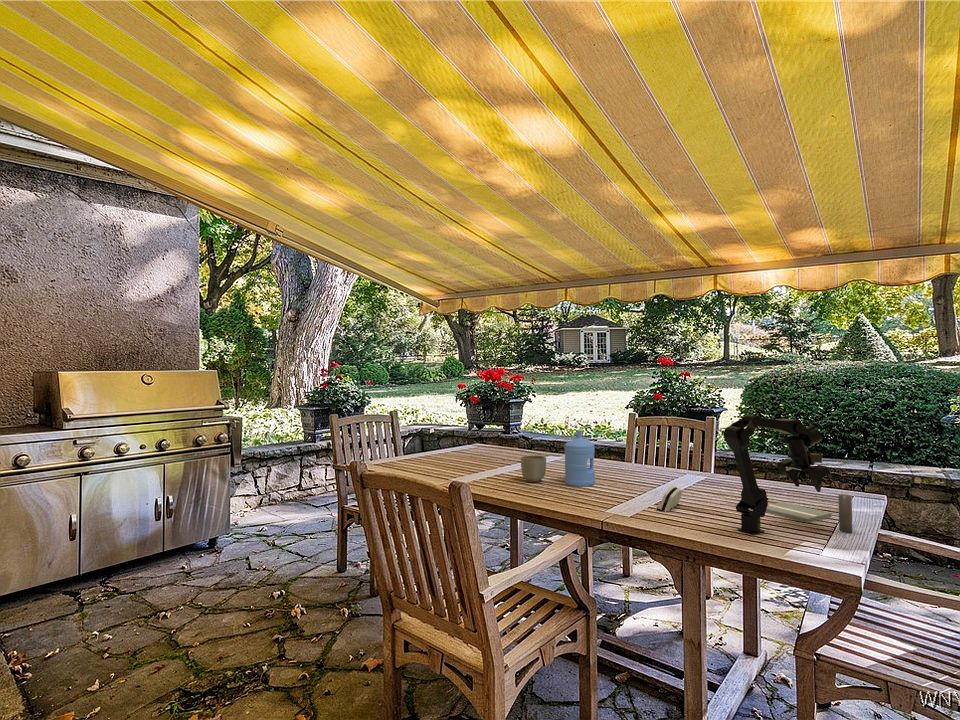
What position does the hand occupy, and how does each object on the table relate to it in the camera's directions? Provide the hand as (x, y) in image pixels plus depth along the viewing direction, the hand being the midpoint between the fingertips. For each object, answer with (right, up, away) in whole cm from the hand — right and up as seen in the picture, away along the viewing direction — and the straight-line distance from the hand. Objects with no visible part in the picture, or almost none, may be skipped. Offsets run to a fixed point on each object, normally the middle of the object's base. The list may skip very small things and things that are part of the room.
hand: (808, 489), depth 198 cm
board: (+3, -14, +14) cm, 20 cm away
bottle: (+8, -13, -9) cm, 18 cm away
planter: (-97, -17, +82) cm, 128 cm away
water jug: (-73, -16, +75) cm, 106 cm away
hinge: (-43, -15, +26) cm, 53 cm away
